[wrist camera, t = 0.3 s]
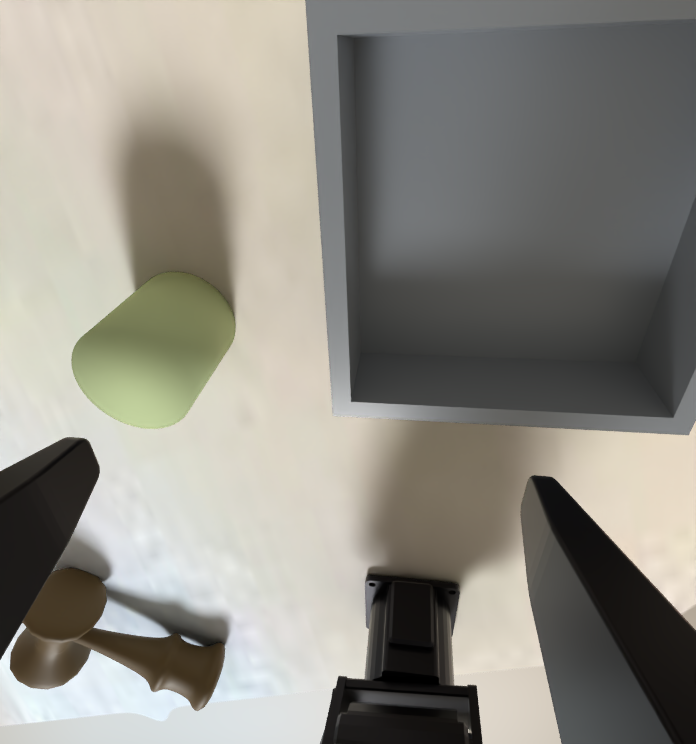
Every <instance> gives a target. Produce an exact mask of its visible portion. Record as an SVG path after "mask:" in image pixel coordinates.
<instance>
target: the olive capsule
mask: <svg viewBox="0 0 696 744" xmlns="http://www.w3.org/2000/svg"><path fill="white" fill-rule="evenodd" d="M234 336H235V319H234V315H233V312H232V310H231V308H230V306H229V304H228V302H227V301H226V299H225V298H224V297H223V296H222V294H221V293H220V292H219V291H218V290H217V289H216V288H215V287H213V286H212V285H211V284H209V283H208V282H206V281H205V280H203V279H201V278H199V277H197V276H194V275H191V274H188V273H183V272H165V273H161V274H158V275H156V276H154V277H152V278H151V279H150V280H148V281H147V282H146V283H145V284H144V285H143V286H141V287H140V288H139V289H138V290H137V291H135V292H134V293H133V294H132V295H131V296H130V297H128V298H127V299H126V300H125V301H124V302H122V303H121V304H120V305H119V306H118V307H117V308H115V309H114V310H113V311H112V312H111V313H110V314H108V315H107V316H106V317H105V318H104V319H102V320H101V321H100V322H99V323H98V324H97V325H95V326H94V327H93V328H92V329H91V330H89V331H88V332H87V333H86V334H85V335H84V336H82V337H81V338H80V339H79V341H78V342H77V343H76V345H75V347H74V349H73V353H72V369H73V373H74V376H75V379H76V381H77V383H78V385H79V387H80V388H81V390H82V391H83V393H84V394H85V395H86V396H87V398H88V399H89V400H90V401H91V402H92V403H93V404H94V405H95V406H97V407H98V408H99V409H100V410H102V411H103V412H104V413H106V414H107V415H109V416H111V417H112V418H114V419H116V420H118V421H120V422H123V423H125V424H128V425H131V426H135V427H140V428H147V429H158V428H164V427H169V426H171V425H174V424H176V423H177V422H179V421H180V420H181V419H183V418H184V417H185V415H186V414H187V413H188V411H189V410H190V408H191V407H192V405H193V403H194V402H195V400H196V399H197V397H198V396H199V394H200V392H201V391H202V389H203V388H204V386H205V385H206V383H207V382H208V380H209V378H210V377H211V375H212V374H213V372H214V371H215V369H216V368H217V366H218V364H219V363H220V361H221V360H222V358H223V357H224V355H225V354H226V352H227V350H228V349H229V347H230V346H231V344H232V342H233V339H234Z"/></svg>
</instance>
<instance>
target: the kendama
mask: <svg viewBox="0 0 696 744" xmlns="http://www.w3.org/2000/svg"><path fill="white" fill-rule="evenodd" d="M106 602H107V597H106V587H105V585H104V584H103V583H102V581H101V580H100V579H99V578H98V577H97V576H95V575H92V574H90V573H88V572H85V571H82V570H79V569H75V568H68V569H61V570H56V571H54V572H52V573H51V574H50V576H49V577H48V579H47V581H46V582H45V584H44V586H43V588H42V589H41V591H40V593H39V594H38V596H37V598H36V600H35V601H34V603H33V605H32V606H31V608H30V610H29V612H28V613H27V615H26V617H25V618H24V620H23V622H22V623H24V624H25V626H26V627H27V628H26V629H25V630H24V631H23V632H22V634H21V635H20V636H19V637H18V639H17V641H16V643H15V645H14V647H13V649H12V652H11V659H10V670H11V671H12V673H13V674H14V676H15V677H16V679H17V680H18V681H19V682H21V683H23V684H25V685H27V686H29V687H30V688H38V689H50V688H54V687H58V686H62V685H64V684H65V683H67V682H68V681H69V680H70V679H72V678H73V677H74V676H76V675H77V674H78V672H79V671H80V670H81V668H82V667H83V665H84V664H85V663H86V661H87V660H88V657H89V654H90V651H91V649H92V650H94V651H97V652H99V653H101V654H103V655H105V656H107V657H109V658H111V659H113V660H115V661H117V662H119V663H121V664H123V665H124V666H126V667H128V668H130V669H132V670H133V671H135V672H137V673H138V674H140V675H141V676H142V677H144V678H145V679H146V680H147V682H148V683H149V685H150V689H151V691H153V692H156V691H159V690H162V689H168V690H171V691H174V692H177V693H179V694H181V695H182V696H184V697H185V698H187V699H188V700H189V702H190V703H191V706H192V707H193V709H194V710H196V711H198V710H200V709H202V708H203V707H205V705H206V704H207V703H208V701H209V699H210V698H211V696H212V694H213V692H214V689H215V687H216V685H217V682H218V680H219V677H220V674H221V671H222V667H223V663H224V657H225V647H224V645H223V644H222V643H215V644H213V645H211V646H207V647H205V646H197V645H193V644H190V643H187V642H185V641H184V640H183V639H182V638H181V636H180V635H179V634H178V633H174V634H173V635H171V636H168V637H164V638H153V637H143V636H136V635H129V634H123V633H117V632H111V631H106V630H101V629H97V628H93V627H94V625H95V624H96V623H97V621H98V620H99V619H100V617H101V616H102V614H103V611H104V608H105V605H106Z"/></svg>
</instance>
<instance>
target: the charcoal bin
mask: <svg viewBox="0 0 696 744" xmlns="http://www.w3.org/2000/svg"><path fill="white" fill-rule="evenodd" d="M305 1H306V16H307V31H308V47H309V62H310V77H311V92H312V107H313V122H314V138H315V153H316V168H317V183H318V198H319V214H320V229H321V244H322V259H323V274H324V289H325V305H326V320H327V335H328V350H329V365H330V381H331V396H332V411H333V416H343V417H362V418H380V419H399V420H417V421H436V422H454V423H473V424H491V425H510V426H528V427H547V428H565V429H584V430H602V431H621V432H639V433H658V434H676V435H689V433H690V431H691V429H692V427H693V425H694V423H695V421H696V0H305Z"/></svg>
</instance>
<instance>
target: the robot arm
mask: <svg viewBox="0 0 696 744" xmlns="http://www.w3.org/2000/svg"><path fill="white" fill-rule="evenodd" d="M99 473H100V468H99V464H98V461H97V459H96V457H95V454H94V452H93V449H92V447H91V444H90V442H89V441H88V440H87V439H84V438H74V437H67V438H64V439H62V440H60V441H58V442H56V443H54V444H52V445H50V446H48V447H46V448H44V449H42V450H40V451H38V452H37V453H35V454H33V455H31V456H29V457H27V458H25V459H23V460H21V461H19V462H17V463H15V464H13V465H12V466H10V467H8V468H6V469H4V470H2V471H0V660H1V658H2V656H3V654H4V653H5V651H6V649H7V648H8V646H9V644H10V642H11V641H12V639H13V637H14V636H15V634H16V632H17V630H18V629H19V627H20V625H21V624H22V622H23V620H24V618H25V617H26V615H27V613H28V612H29V610H30V608H31V606H32V605H33V603H34V601H35V600H36V598H37V596H38V594H39V593H40V591H41V589H42V588H43V586H44V584H45V582H46V581H47V579H48V577H49V576H50V574H51V572H52V570H53V569H54V567H55V565H56V564H57V562H58V560H59V558H60V557H61V555H62V553H63V551H64V550H65V548H66V546H67V544H68V542H69V540H70V538H71V536H72V534H73V532H74V530H75V528H76V526H77V523H78V521H79V519H80V517H81V515H82V513H83V510H84V508H85V506H86V504H87V502H88V499H89V497H90V495H91V493H92V491H93V489H94V486H95V484H96V482H97V480H98V477H99ZM521 524H522V534H523V543H524V553H525V563H526V573H527V582H528V590H529V597H530V602H531V607H532V612H533V616H534V621H535V625H536V630H537V634H538V639H539V643H540V648H541V652H542V657H543V661H544V666H545V670H546V675H547V679H548V683H549V688H550V693H551V697H552V702H553V706H554V711H555V715H556V720H557V724H558V729H559V733H560V738H561V743H562V744H696V630H695V629H694V628H693V627H692V626H691V625H690V624H689V622H688V621H687V620H686V619H685V618H684V617H683V616H682V615H681V614H680V613H679V612H678V611H677V609H676V608H675V607H674V606H673V605H672V604H671V603H670V602H669V601H668V600H667V599H666V598H665V597H664V595H663V594H662V593H661V592H660V591H659V590H658V589H657V588H656V587H655V586H654V585H653V584H652V583H651V582H650V580H649V579H648V578H647V577H646V576H645V575H644V574H643V573H642V572H641V571H640V570H639V569H638V568H637V566H636V565H635V564H634V563H633V562H632V561H631V560H630V559H629V558H628V557H627V556H626V555H625V554H624V553H623V551H622V550H621V549H620V548H619V547H618V546H617V545H616V544H615V543H614V542H613V541H612V540H611V539H610V537H609V536H608V535H607V534H606V533H605V532H604V531H603V530H602V529H601V528H600V527H599V526H598V525H597V524H596V522H595V521H594V520H593V519H592V518H591V517H590V516H589V515H588V514H587V513H586V512H585V511H584V510H583V508H582V507H581V506H580V505H579V504H578V503H577V502H576V501H575V500H574V499H573V498H572V497H571V496H570V495H569V493H568V492H567V491H566V490H565V489H564V488H563V487H562V486H561V485H560V484H559V483H558V482H557V481H556V480H555V479H554V478H552V477H547V476H535V475H534V476H531V477H530V478H529V479H528V482H527V486H526V490H525V493H524V497H523V500H522V504H521ZM365 599H366V627H367V628H368V629H369V635H368V647H367V658H366V669H365V679H352V678H347V677H346V676H339V677H338V681H337V685H336V688H334V689H333V692H332V699H331V704H330V708H329V712H328V717H327V722H326V726H325V730H324V733H323V736H322V739H321V742H320V744H482V734H481V725H480V715H479V705H478V696H477V686H476V685H468V686H454V675H453V656H452V635H453V629H454V623H455V617H456V611H457V605H458V599H459V586H458V585H457V584H455V583H448V582H438V581H427V580H416V579H406V578H395V577H385V576H374V575H370V576H367V577H366V581H365ZM468 729H469V733H468Z"/></svg>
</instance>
